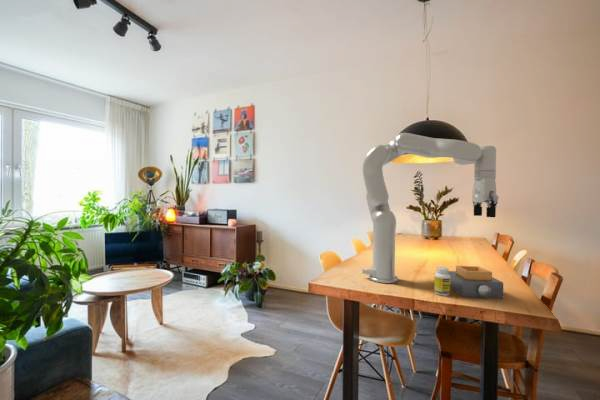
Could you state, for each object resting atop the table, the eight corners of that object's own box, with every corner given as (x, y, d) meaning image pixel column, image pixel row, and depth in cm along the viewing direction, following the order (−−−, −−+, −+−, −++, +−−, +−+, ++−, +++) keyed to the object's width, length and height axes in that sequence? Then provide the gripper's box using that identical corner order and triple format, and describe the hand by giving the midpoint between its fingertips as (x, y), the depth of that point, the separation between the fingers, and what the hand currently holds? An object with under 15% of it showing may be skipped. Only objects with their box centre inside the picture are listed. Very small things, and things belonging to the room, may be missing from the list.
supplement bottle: (443, 296, 102) (443, 270, 102) (431, 292, 107) (431, 267, 107) (453, 294, 104) (453, 269, 104) (441, 290, 109) (441, 265, 109)
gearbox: (464, 298, 100) (464, 273, 100) (446, 285, 116) (446, 263, 116) (505, 300, 98) (506, 275, 98) (482, 286, 114) (482, 265, 114)
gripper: (465, 177, 125) (464, 215, 125) (487, 173, 108) (486, 217, 108) (482, 177, 124) (481, 215, 124) (507, 174, 107) (506, 218, 107)
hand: (484, 216), depth 116 cm, fingers open, 9 cm apart
